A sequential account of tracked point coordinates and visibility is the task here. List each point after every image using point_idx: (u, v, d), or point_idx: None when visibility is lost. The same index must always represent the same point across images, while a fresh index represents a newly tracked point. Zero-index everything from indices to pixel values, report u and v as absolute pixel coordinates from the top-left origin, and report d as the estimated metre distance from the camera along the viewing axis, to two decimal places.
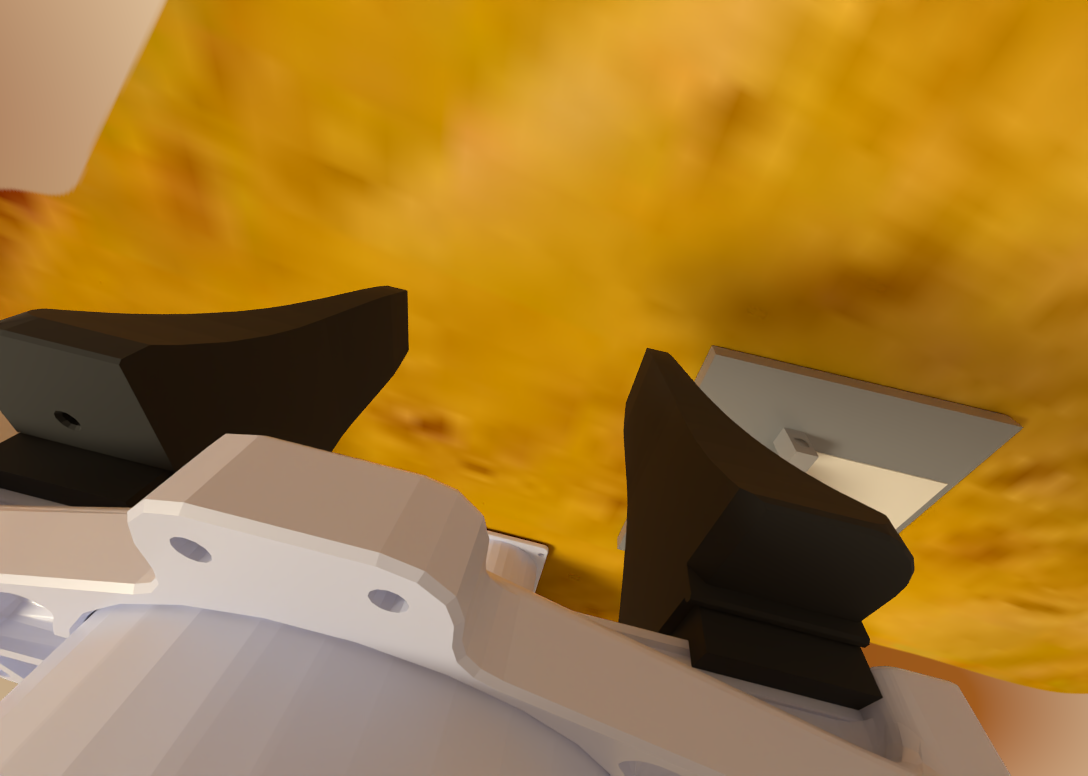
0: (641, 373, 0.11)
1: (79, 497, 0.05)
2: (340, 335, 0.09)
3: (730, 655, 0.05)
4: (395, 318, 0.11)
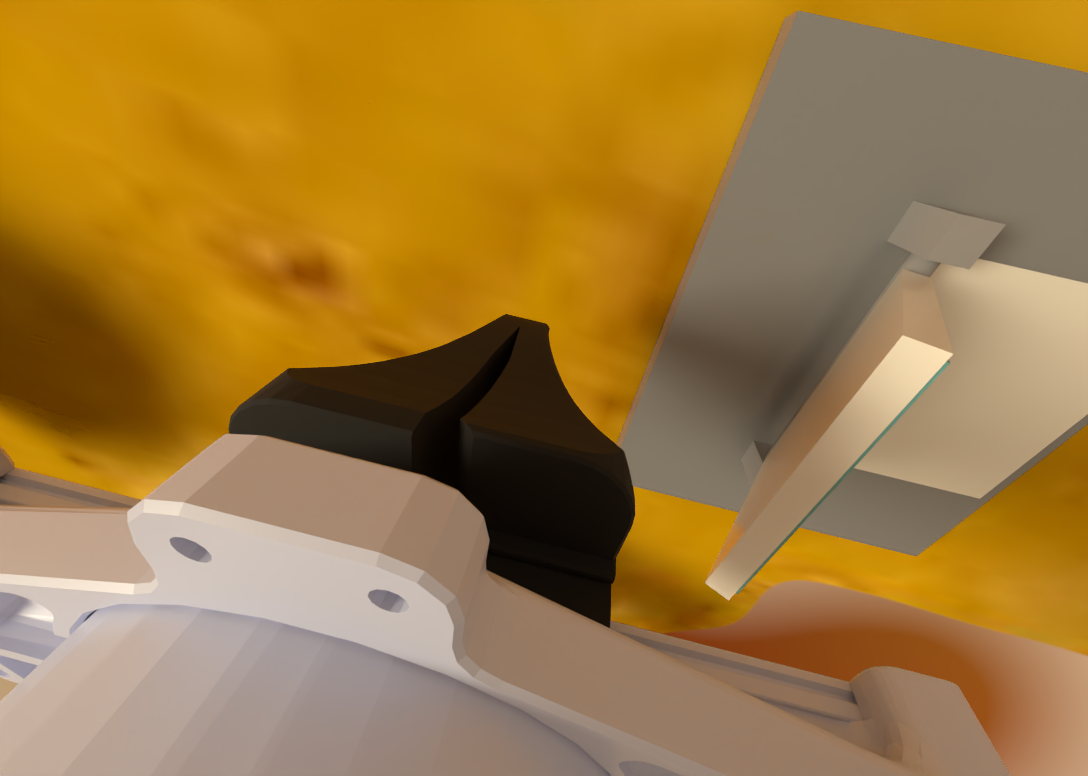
0: None
1: None
2: (492, 372, 0.09)
3: None
4: None
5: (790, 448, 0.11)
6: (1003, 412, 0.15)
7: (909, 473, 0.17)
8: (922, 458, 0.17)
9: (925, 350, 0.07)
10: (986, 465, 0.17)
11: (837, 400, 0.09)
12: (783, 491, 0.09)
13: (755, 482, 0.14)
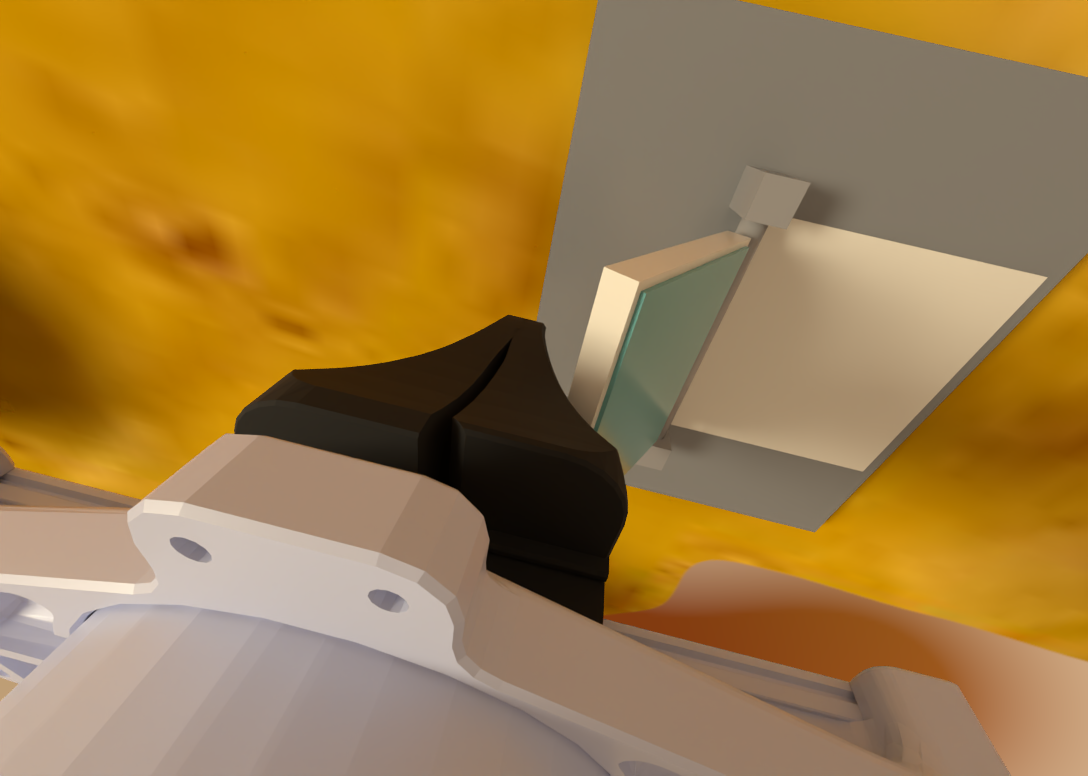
0: None
1: None
2: (495, 373, 0.09)
3: None
4: None
5: None
6: (869, 381, 0.15)
7: (793, 446, 0.18)
8: (801, 430, 0.17)
9: (622, 280, 0.07)
10: (863, 437, 0.17)
11: None
12: None
13: None
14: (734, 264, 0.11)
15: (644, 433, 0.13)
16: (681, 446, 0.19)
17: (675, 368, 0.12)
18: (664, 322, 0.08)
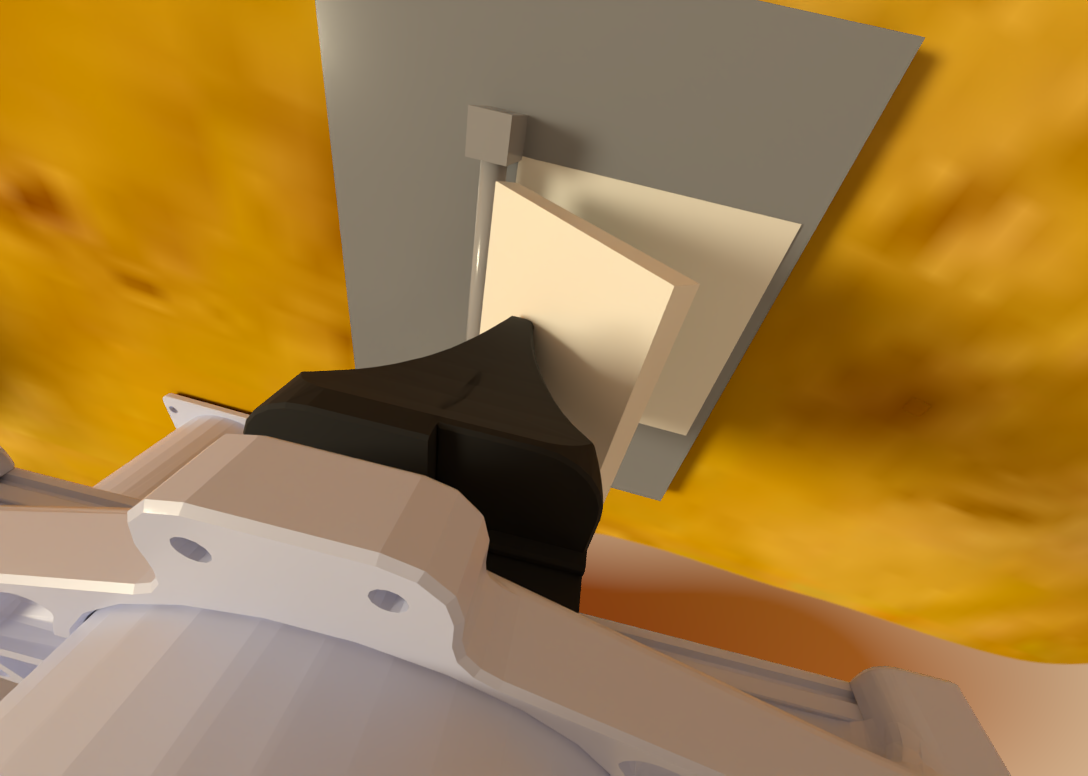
0: None
1: None
2: None
3: None
4: None
5: None
6: None
7: None
8: None
9: (685, 289, 0.07)
10: (677, 398, 0.17)
11: (598, 347, 0.09)
12: (612, 445, 0.09)
13: None
14: None
15: None
16: None
17: None
18: None
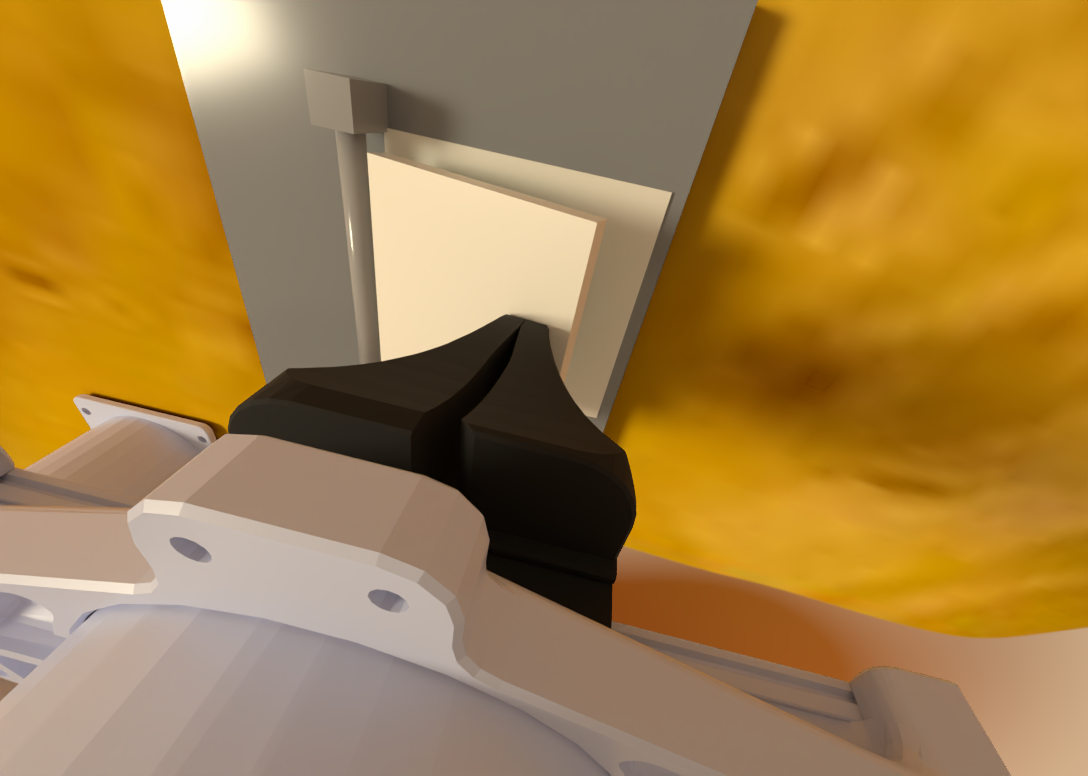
0: None
1: None
2: (491, 372, 0.09)
3: None
4: None
5: None
6: None
7: None
8: None
9: (600, 224, 0.10)
10: (582, 379, 0.16)
11: (533, 288, 0.11)
12: (563, 364, 0.12)
13: None
14: None
15: None
16: None
17: None
18: None
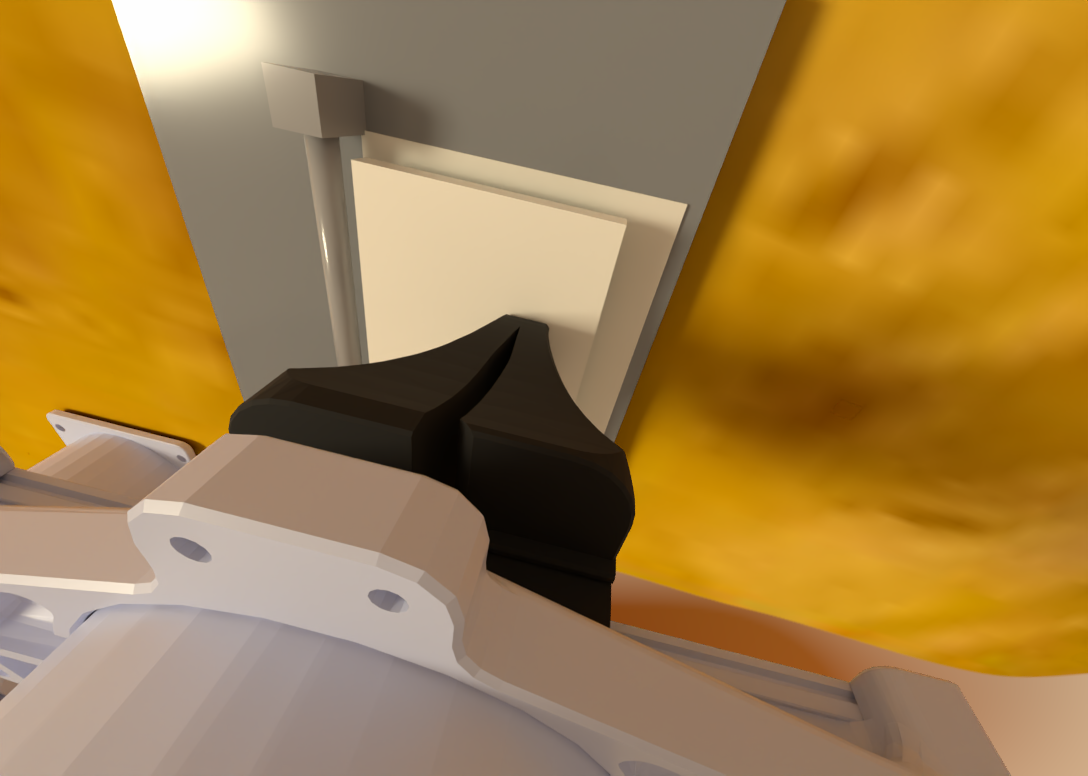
0: None
1: None
2: (492, 372, 0.09)
3: None
4: None
5: None
6: None
7: None
8: None
9: None
10: (584, 406, 0.15)
11: (557, 291, 0.11)
12: None
13: None
14: None
15: None
16: None
17: None
18: None
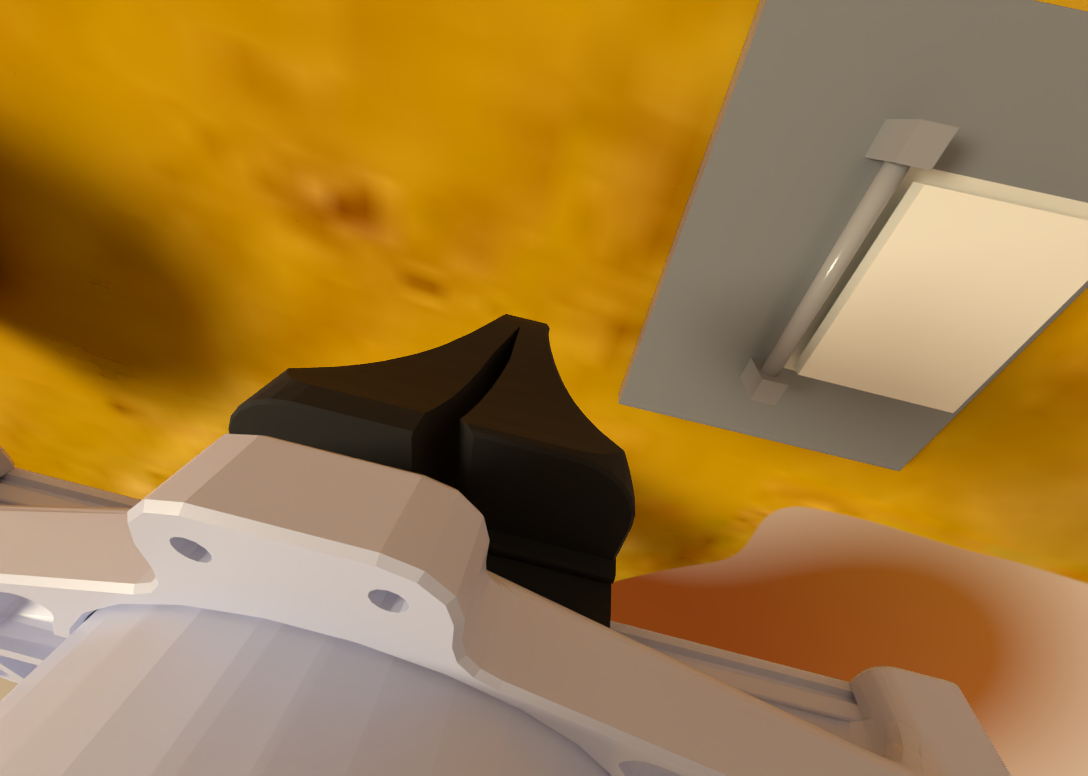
0: None
1: None
2: (492, 372, 0.09)
3: None
4: None
5: (952, 329, 0.16)
6: None
7: None
8: None
9: None
10: None
11: (1042, 280, 0.15)
12: (1031, 333, 0.16)
13: (853, 378, 0.18)
14: None
15: None
16: None
17: None
18: None
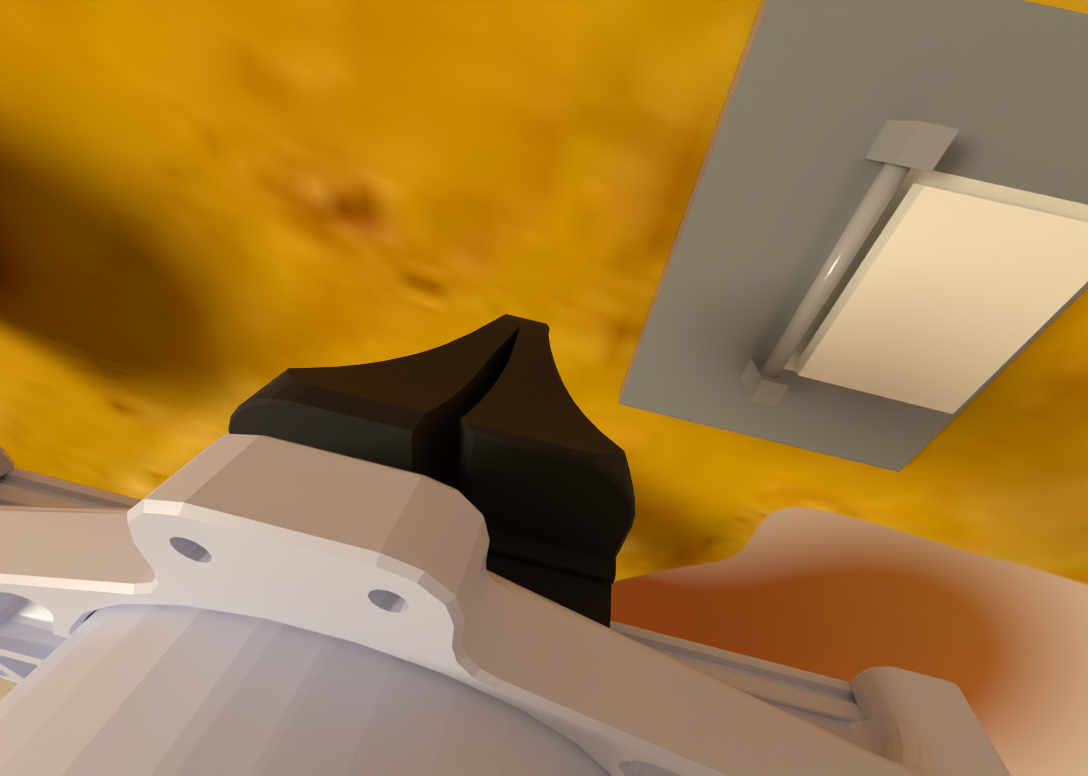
0: None
1: None
2: (492, 372, 0.09)
3: None
4: None
5: (951, 330, 0.16)
6: None
7: None
8: None
9: None
10: None
11: (1042, 281, 0.15)
12: (1030, 335, 0.16)
13: (853, 379, 0.18)
14: None
15: None
16: None
17: None
18: None
